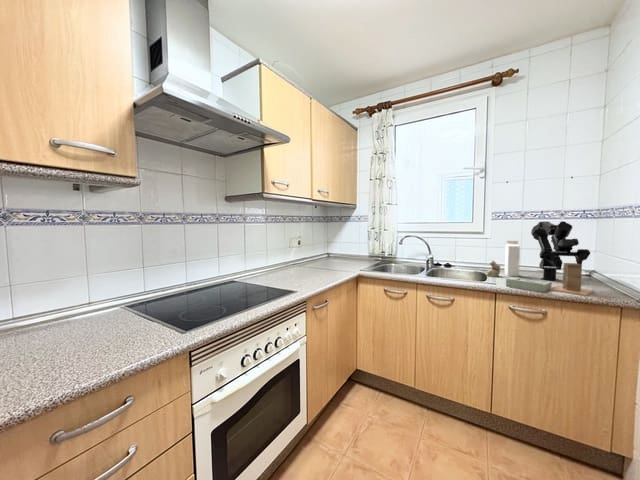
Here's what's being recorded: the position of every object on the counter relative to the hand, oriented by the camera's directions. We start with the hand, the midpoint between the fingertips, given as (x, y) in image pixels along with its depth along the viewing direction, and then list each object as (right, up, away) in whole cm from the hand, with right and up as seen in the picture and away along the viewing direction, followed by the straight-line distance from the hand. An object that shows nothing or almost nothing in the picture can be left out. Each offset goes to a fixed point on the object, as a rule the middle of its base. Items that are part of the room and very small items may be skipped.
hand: (568, 267), depth 131 cm
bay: (-15, -11, +6) cm, 19 cm away
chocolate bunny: (-15, -9, +35) cm, 39 cm away
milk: (-2, -9, +36) cm, 37 cm away
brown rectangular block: (-2, -10, -3) cm, 11 cm away
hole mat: (-8, -10, +15) cm, 20 cm away
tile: (-2, -11, -3) cm, 12 cm away
